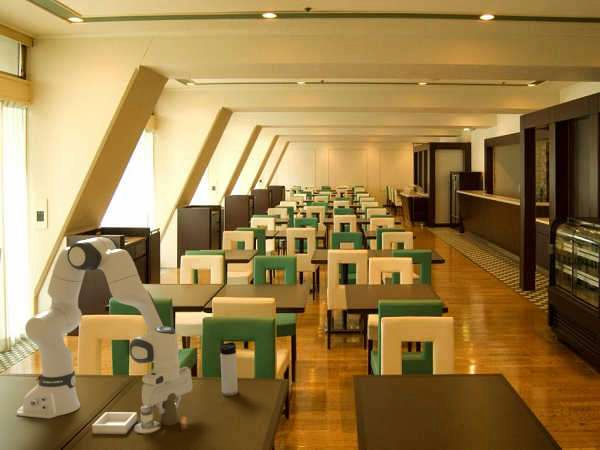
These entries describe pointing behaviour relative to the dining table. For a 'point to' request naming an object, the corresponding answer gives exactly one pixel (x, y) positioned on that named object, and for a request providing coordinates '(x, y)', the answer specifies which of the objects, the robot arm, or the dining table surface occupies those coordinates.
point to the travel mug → (229, 369)
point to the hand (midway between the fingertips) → (169, 410)
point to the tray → (114, 423)
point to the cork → (169, 411)
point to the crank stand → (153, 424)
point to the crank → (147, 409)
